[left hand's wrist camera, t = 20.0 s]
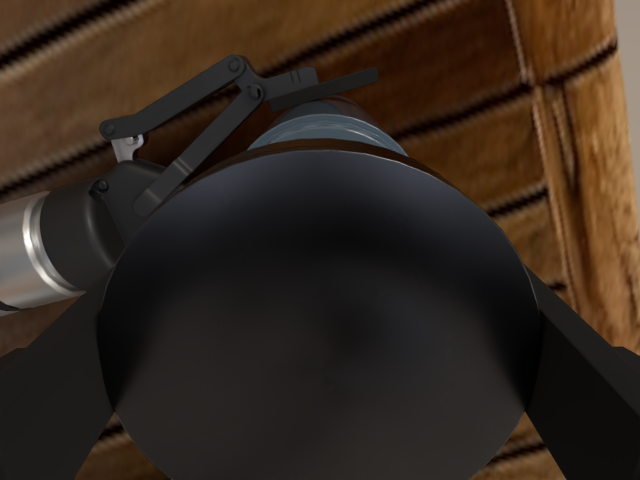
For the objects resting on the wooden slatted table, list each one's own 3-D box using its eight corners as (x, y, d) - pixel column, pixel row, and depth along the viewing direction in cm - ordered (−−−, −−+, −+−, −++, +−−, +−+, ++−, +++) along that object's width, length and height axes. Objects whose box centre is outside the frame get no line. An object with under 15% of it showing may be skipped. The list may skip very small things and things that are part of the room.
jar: (356, 73, 34) (389, 79, 17) (397, 183, 37) (458, 279, 20) (247, 122, 35) (179, 170, 18) (294, 224, 38) (273, 346, 21)
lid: (120, 452, 13) (94, 502, 12) (133, 99, 10) (99, 104, 8) (452, 498, 14) (468, 550, 13) (571, 179, 11) (614, 197, 9)
